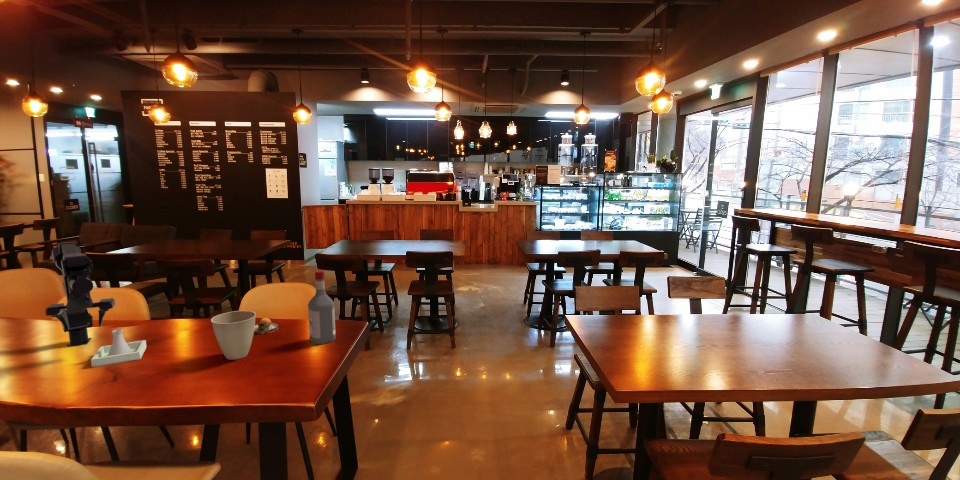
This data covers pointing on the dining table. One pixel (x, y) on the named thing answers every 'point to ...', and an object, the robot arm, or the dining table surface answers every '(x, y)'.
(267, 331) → the burger
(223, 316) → the plant pot
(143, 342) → the tray
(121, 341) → the flask
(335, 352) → the dining table surface
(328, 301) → the liquor
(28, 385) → the dining table surface
